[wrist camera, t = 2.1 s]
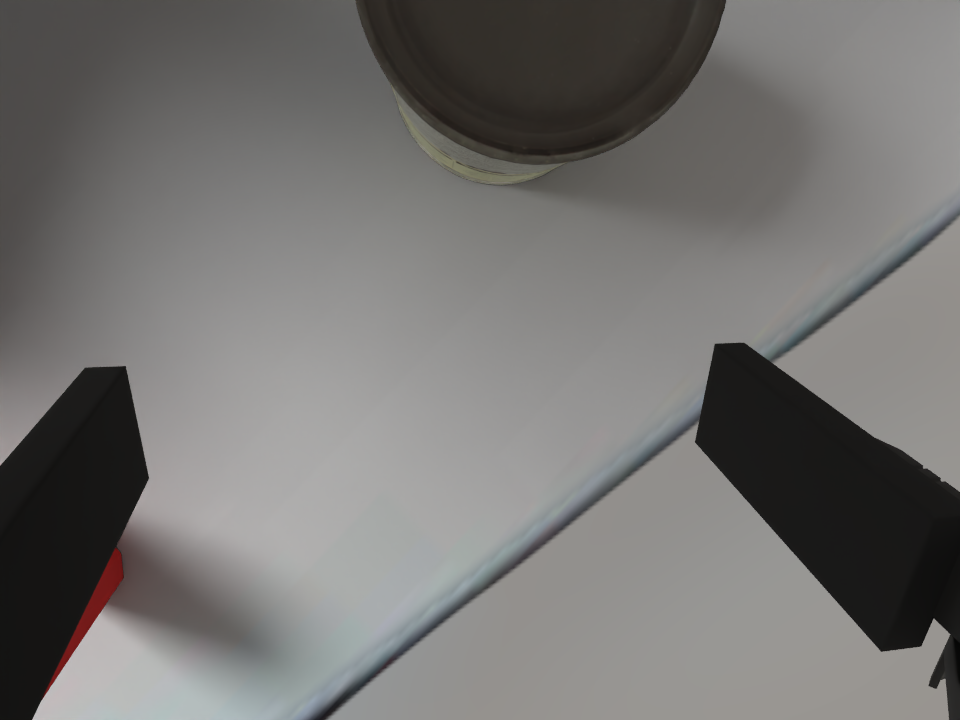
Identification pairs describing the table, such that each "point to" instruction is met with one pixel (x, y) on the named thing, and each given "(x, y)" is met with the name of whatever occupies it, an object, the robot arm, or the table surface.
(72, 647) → the french fries
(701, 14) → the coffee can
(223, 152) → the table surface
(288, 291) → the table surface
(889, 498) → the robot arm
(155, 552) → the table surface
